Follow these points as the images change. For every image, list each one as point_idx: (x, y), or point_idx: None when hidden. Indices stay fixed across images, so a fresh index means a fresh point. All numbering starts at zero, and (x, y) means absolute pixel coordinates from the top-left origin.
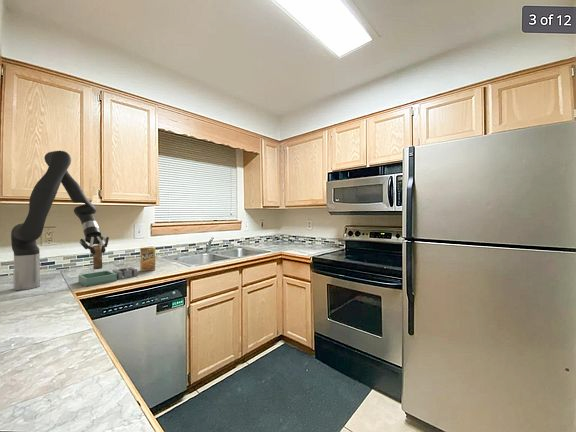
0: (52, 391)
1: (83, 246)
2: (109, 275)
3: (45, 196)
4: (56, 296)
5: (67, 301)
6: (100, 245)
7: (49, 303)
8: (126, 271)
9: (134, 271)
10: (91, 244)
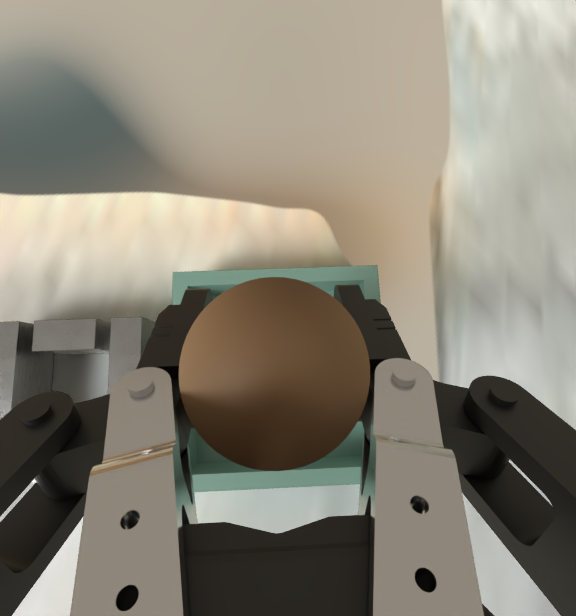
0: None
1: (552, 510)
2: (224, 271)
3: None
4: (508, 184)
5: (472, 58)
6: (222, 317)
7: (535, 85)
8: (81, 319)
9: (24, 323)
10: (407, 427)
